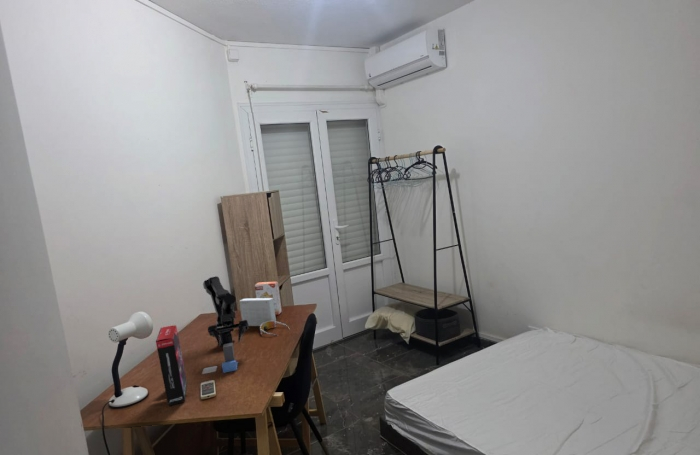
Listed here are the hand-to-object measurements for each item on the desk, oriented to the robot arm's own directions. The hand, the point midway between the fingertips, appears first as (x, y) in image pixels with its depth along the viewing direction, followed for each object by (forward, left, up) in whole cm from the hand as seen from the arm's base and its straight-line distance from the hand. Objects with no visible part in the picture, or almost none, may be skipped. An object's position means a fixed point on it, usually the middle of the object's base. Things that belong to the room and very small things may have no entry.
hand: (229, 343), depth 193 cm
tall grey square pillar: (+5, -5, -8) cm, 11 cm away
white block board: (+2, -8, -9) cm, 12 cm away
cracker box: (-33, +61, -9) cm, 70 cm away
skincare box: (-25, +43, -9) cm, 51 cm away
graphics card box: (+3, -32, -9) cm, 33 cm away
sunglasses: (-7, +37, -9) cm, 39 cm away
